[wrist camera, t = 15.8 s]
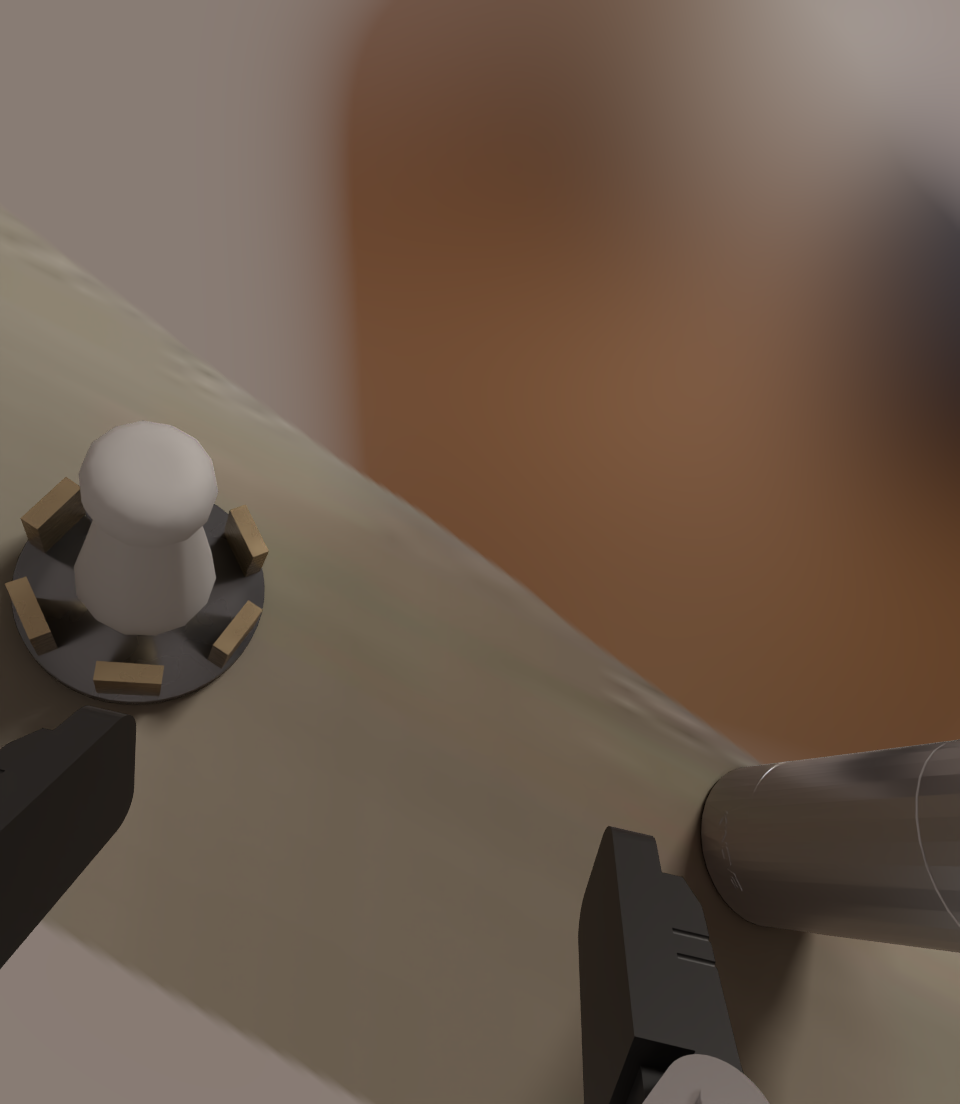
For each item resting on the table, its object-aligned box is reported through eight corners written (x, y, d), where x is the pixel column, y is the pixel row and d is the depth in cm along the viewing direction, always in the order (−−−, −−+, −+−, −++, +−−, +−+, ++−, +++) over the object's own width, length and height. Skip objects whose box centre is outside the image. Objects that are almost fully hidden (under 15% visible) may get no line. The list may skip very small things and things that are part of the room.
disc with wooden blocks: (303, 572, 39) (318, 547, 35) (168, 750, 33) (171, 740, 30) (126, 450, 37) (125, 412, 34) (-47, 615, 31) (-69, 589, 28)
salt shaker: (147, 673, 33) (150, 587, 22) (47, 592, 32) (0, 463, 22) (236, 585, 36) (278, 472, 25) (146, 510, 36) (150, 361, 25)
